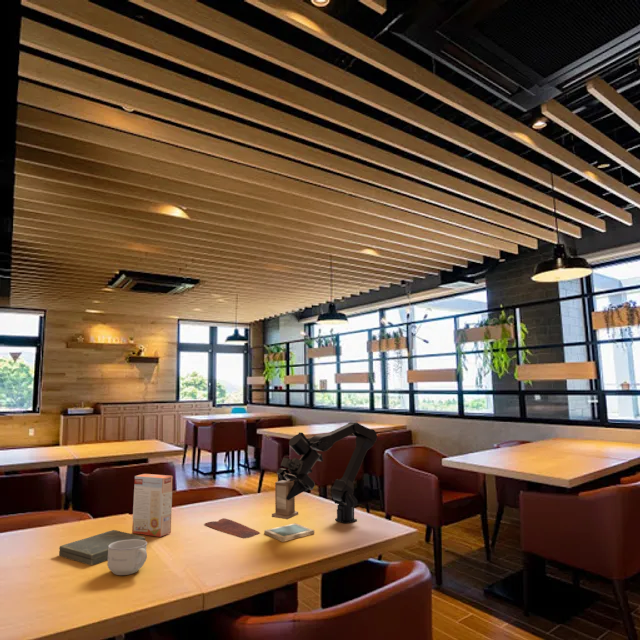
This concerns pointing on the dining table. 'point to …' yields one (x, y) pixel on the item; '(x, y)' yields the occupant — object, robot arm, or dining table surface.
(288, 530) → the teal framed panel
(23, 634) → the dining table surface
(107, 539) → the case
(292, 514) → the stepped wooden pillar
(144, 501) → the cracker box
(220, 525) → the wooden tablet
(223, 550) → the dining table surface
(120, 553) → the teacup
